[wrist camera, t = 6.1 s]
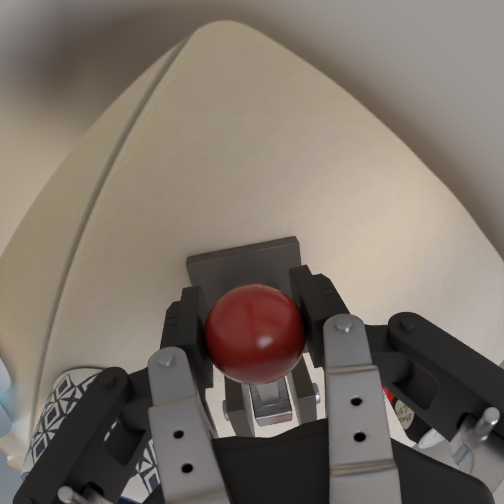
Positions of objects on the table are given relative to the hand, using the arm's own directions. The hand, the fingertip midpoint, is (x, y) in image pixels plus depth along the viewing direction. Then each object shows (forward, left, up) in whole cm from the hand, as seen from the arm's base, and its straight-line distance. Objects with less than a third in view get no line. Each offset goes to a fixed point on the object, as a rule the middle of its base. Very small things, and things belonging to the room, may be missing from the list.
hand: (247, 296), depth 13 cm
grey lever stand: (+5, -8, -12) cm, 16 cm away
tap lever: (+2, -3, -1) cm, 4 cm away
